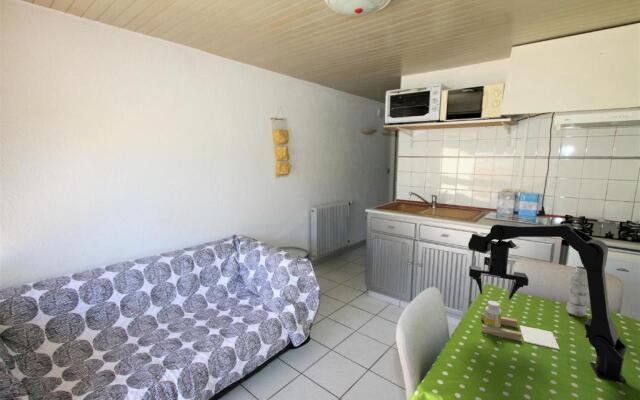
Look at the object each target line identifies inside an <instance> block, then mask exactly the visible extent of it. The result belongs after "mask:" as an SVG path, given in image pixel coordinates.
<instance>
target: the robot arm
mask: <svg viewBox="0 0 640 400" xmlns="http://www.w3.org/2000/svg"><path fill="white" fill-rule="evenodd" d="M516 238H561V239H562V240H563V241H565V242H566V243H567V244H568V245H569V246H570V247H571V249H573V250H575V251H577V252H578V256H579V259H580V261H581V264H582V267H584V268H585V270H586V272H587V280H588V289H589V290H588V294H589V295H588V296H589V303H590V304H589V305H590V313H591V317H588V318H587V320H586V321H585V323H584V325H583V326H584V329H585V331H586V332H585V333H586V334H585V337H584V338H586V339H588V342H589V344H590V345H591V346H593V348H594V351H595V353H596V357H595V362H593V361H592V362H590V363H589V364H590V366H591V368H592V369H593V371H594V373H595V374H596V376H597V377H599V378H603V379H605V380H610V381H614V382H618V383H621V384H627V379H625V377H624V376H623V374H622V373H623V367H624V360H625V359H624V357H625V354H626V352H627V350H628V347H627V345H626V344H625V343H624V342H623V341H622V340H621V339H620V338H619V334H618V331H617V328H616V325H615V324H614V322H613V319H612V318H611V316H610V305H609V298H608V290H607V279H606V273H605V271H606V266H607V261H608V253H609V247H608V245H607V244H606V243H605V242H603V241H602V240H599V239H596V238H593V237H592V236H590V235H589V234H587V233H586V232H583V231H581V230H579V229H578V228H576V227H575V226H573V225H572V224H570V223H561V224H523V225H522V224H517V223H512V222H506V221H505V222H499V223H497V224H494V225H492V226H491V228H490V230H489V233H487V234H486V235H482V234H479V233H477V232H475V233H472V234H471V237H470V239H469V241H468V242H467V243H468V244H467V247H468V250H469V251H473V252H477V253H480V254H487V253H490V254H489V256H484V257H483V258H484V259H483V266H488V267H487V269H488V270H485V269H482V266H477V265H472V264H471V265H470V266H469V267H468V268H469V269H468V277H470V278H472V280H475V281H476V282H475V283H476V284H477V286H478V290H479V293H480V295H481V296H482V295H483V283H482V276H486V277H493V278H498V279H499V278H500V279H505V280H511V285H510V288H509V289H510V290H509V292H508V293H509V294H508V300H509V301H511V300H512V299H513V297H514V295H515V294H516V292H518V290H519V289H520V288H524V286H525V287H528V286H529V281H530V280H529V277H528V276H527V273H525V272H517V271H513V273H512V274H511V273H508V272H507V271H508V264H509V263H508V262H509V254H510V249H514V248H516V247H517V244H516V243H514V242H513V239H516ZM506 240H508V241H506Z"/></svg>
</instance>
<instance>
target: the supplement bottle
mask: <svg viewBox="0 0 640 400" xmlns="http://www.w3.org/2000/svg"><path fill="white" fill-rule="evenodd" d="M484 309H485V310H484V313H485V319H484V321H483V322H484V323H483V324H484V325H489V326H493V327H498V328H501V325H502V324H501V316H502V313H503V312H502V310H501V304H500V302H498V301H495V300H488V301H487V306H486V307H485V308H484Z"/></svg>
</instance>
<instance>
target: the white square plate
mask: <svg viewBox="0 0 640 400" xmlns="http://www.w3.org/2000/svg"><path fill="white" fill-rule="evenodd" d="M519 330H520V332H521V338H522V340H523V342H524V343H527V344H531V345H536V346H540V347H545V348H550V349H553V350H558V351H560V350H561V348H560V347H559V345H558V342H557V340H556V338H555V335H554V333H553V332H552V331H549V330H545V329H541V328H540V329H539V328H534V327H530V326H524V325H521V324H520V325H519Z"/></svg>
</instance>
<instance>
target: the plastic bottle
mask: <svg viewBox="0 0 640 400" xmlns="http://www.w3.org/2000/svg"><path fill="white" fill-rule="evenodd" d="M569 281H570V282H569V283H570V284H569V285H570V291H569V298H568V301H567V303H566V306H565V308H566V311H567V313H568V314H570V315H572V316H575V317H585V316H586V315H587V312H588V307H587V305H588V303H587V300H588V299H587V298H588V294H589V289H588V280H587V272H586V270H585V268H584V266H580V265H579V266H576V267H575V273H573V275H571V276H570V278H569Z"/></svg>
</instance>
